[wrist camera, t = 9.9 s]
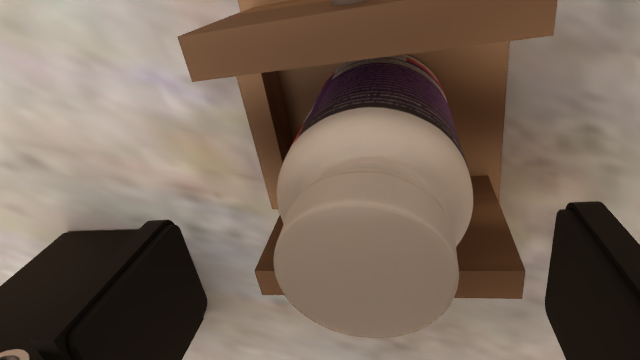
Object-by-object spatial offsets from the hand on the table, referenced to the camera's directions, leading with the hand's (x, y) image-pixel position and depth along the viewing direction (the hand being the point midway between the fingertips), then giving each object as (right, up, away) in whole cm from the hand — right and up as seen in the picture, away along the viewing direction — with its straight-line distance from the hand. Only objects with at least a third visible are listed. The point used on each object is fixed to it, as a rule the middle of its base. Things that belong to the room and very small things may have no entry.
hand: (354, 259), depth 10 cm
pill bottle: (+2, +5, +7) cm, 9 cm away
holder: (+2, +6, +8) cm, 10 cm away
